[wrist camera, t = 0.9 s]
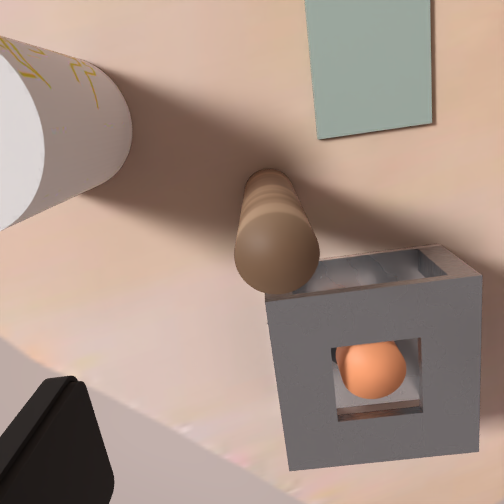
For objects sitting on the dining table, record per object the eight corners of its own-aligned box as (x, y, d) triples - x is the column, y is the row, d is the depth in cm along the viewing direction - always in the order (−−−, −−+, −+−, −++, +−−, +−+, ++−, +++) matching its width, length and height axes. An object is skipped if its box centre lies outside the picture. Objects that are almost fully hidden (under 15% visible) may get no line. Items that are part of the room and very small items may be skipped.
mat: (304, -3, 25) (304, -5, 25) (427, -23, 25) (429, -25, 24) (317, 139, 28) (318, 139, 27) (429, 122, 27) (432, 123, 27)
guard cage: (263, 266, 30) (265, 302, 25) (439, 243, 30) (482, 275, 24) (284, 410, 34) (289, 471, 28) (440, 393, 33) (478, 451, 28)
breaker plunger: (333, 330, 29) (338, 347, 27) (394, 323, 28) (405, 339, 26) (338, 382, 30) (343, 402, 28) (397, 376, 30) (407, 395, 28)
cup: (138, 69, 27) (47, 37, 15) (126, 199, 29) (41, 256, 18) (3, 44, 26) (-193, -7, 15) (3, 178, 29) (-165, 222, 17)
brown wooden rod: (241, 172, 28) (227, 219, 16) (290, 165, 28) (315, 207, 16) (248, 220, 29) (241, 299, 17) (295, 213, 29) (323, 288, 17)
